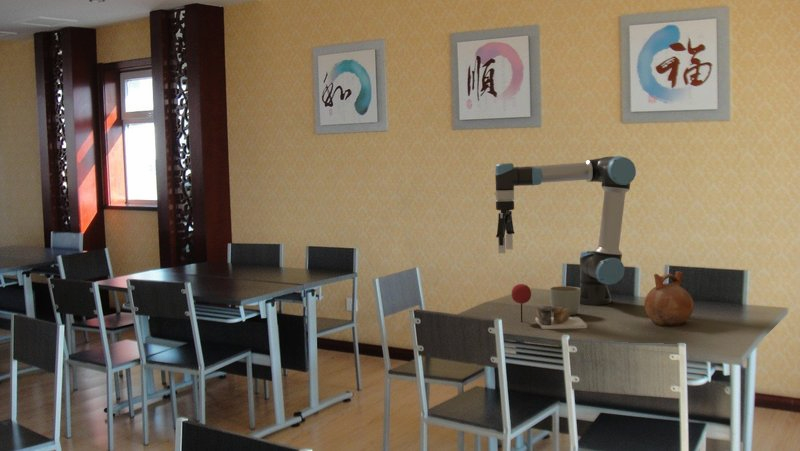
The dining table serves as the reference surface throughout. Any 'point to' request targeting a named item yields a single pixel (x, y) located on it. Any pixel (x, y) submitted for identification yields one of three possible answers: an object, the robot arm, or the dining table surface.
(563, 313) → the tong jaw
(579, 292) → the planter
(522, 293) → the lollipop
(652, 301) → the jug
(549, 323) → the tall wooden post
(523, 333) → the dining table surface
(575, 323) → the board
